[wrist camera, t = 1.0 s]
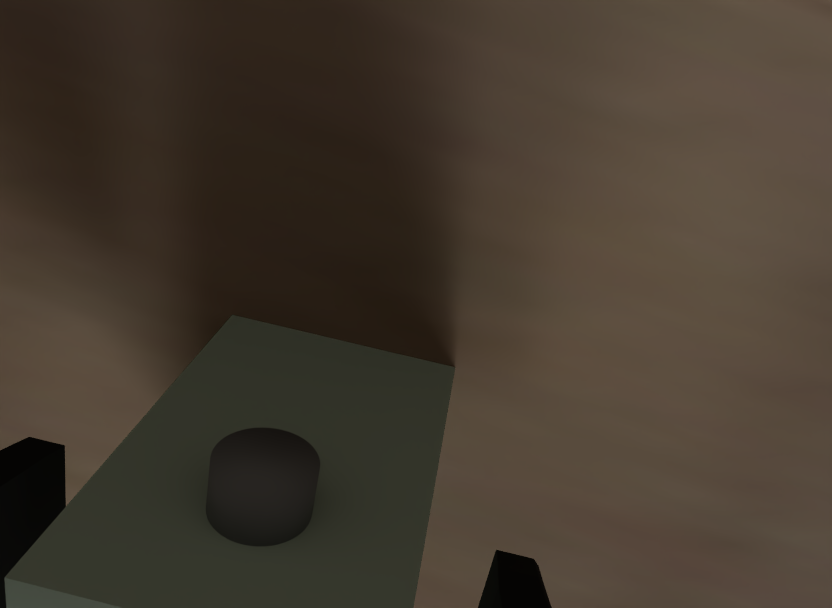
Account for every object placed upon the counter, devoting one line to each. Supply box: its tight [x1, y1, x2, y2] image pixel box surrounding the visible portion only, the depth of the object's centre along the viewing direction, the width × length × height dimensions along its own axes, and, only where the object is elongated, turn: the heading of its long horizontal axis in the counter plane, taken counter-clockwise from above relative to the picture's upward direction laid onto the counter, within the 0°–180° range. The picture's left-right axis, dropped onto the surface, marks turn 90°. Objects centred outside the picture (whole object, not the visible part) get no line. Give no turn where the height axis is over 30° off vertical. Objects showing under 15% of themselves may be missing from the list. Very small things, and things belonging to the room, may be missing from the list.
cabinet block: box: [5, 315, 455, 608], centre depth 12 cm, size 4×5×7 cm
